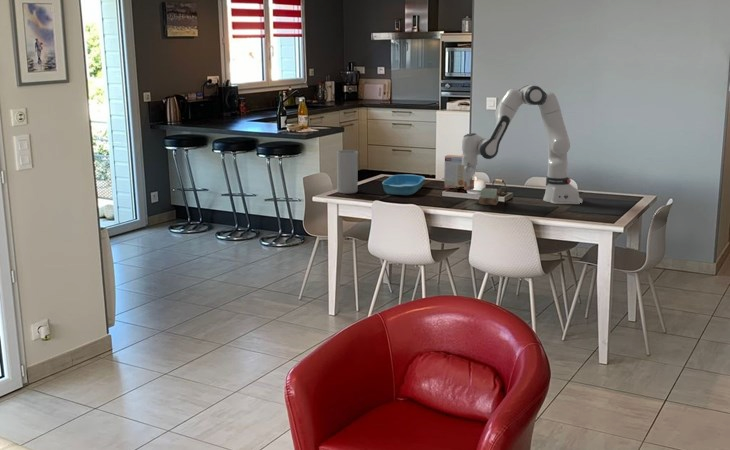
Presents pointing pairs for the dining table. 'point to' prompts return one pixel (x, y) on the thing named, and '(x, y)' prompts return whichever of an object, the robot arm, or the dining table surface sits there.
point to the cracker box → (453, 172)
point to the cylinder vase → (347, 171)
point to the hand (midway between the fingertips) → (469, 185)
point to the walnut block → (489, 200)
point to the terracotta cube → (469, 186)
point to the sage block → (488, 193)
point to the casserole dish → (403, 184)
